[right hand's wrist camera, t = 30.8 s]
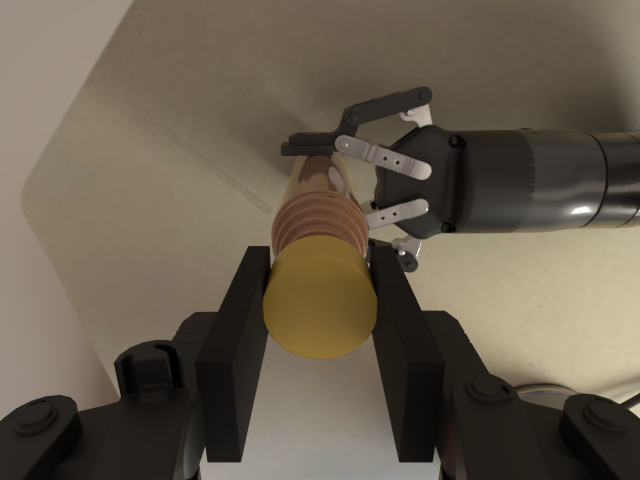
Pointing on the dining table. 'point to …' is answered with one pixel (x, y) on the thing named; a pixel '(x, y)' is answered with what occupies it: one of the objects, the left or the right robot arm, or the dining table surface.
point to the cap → (320, 298)
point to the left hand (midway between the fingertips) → (284, 185)
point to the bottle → (320, 204)
